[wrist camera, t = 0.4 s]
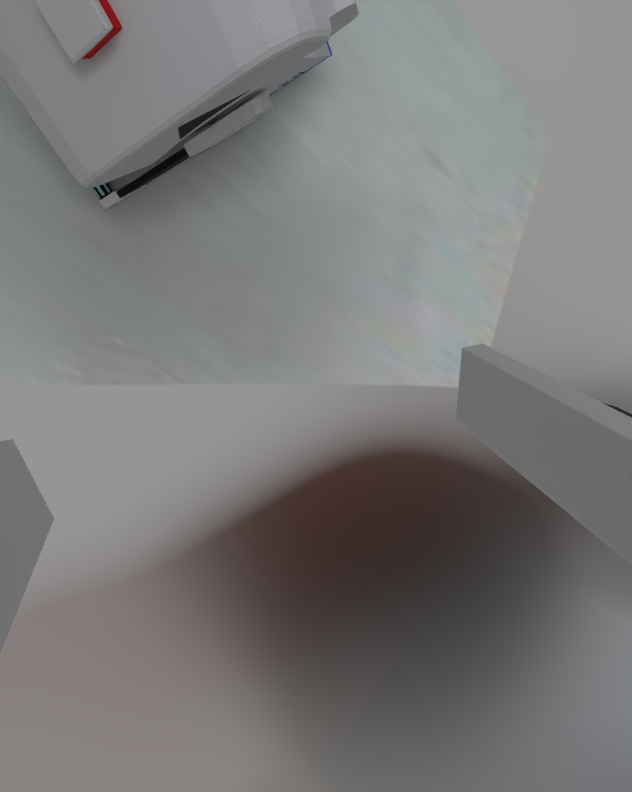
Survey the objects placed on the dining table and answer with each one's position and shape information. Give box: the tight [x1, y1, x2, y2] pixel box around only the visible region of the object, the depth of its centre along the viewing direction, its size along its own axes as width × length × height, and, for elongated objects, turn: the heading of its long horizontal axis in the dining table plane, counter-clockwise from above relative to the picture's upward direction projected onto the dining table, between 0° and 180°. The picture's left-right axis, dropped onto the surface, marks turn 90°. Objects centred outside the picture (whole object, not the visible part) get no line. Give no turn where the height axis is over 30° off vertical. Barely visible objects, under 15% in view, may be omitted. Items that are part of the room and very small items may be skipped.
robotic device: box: [0, 0, 358, 210], centre depth 23 cm, size 10×21×20 cm
